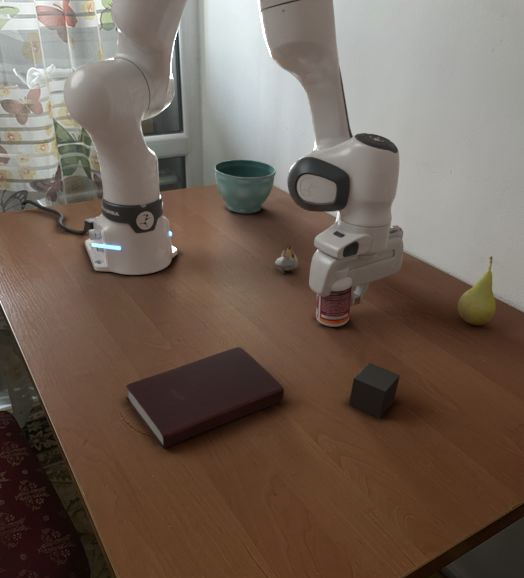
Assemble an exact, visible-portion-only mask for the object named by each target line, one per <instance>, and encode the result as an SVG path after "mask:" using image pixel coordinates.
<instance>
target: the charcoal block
mask: <svg viewBox="0 0 524 578" xmlns="http://www.w3.org/2000/svg"><path fill="white" fill-rule="evenodd" d="M400 377H401V375H400V374H398V373H395V372H393V371H390V370H388V369H386V368H383V367H381V366H379V365H376V364H374V363H371V362H368V363H367V364H366V365H365V366H364V367H363V368H362V369H361V370H360V371H359V372H358V373H357V374H356V375H355V376H354V377H353V380H352V385H351V391H350V398H349V401H348V405H349V406H351V407H353V408H354V409H357V410H359V411H362V412H364V413H366V414H368V415H371V416H373V417H375V418H377V419H381V418H382V416H383V415H384V414H385V413H386V412H387V411H388V409H389V408H390V407H391V406H392V405H393V403H394V402H395V398H396V395H397V389H398V387H399V381H400Z"/></svg>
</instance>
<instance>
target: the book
mask: <svg viewBox="0 0 524 578" xmlns="http://www.w3.org/2000/svg"><path fill="white" fill-rule="evenodd" d="M125 388H126V389H127V390H128V395H127V396H125V399H126V400H127V402H128V403H129V405H130V406H131V408H132V409H133V411H134V412H135V413H136V415H137V416H138V418H139V419H140V421H142V423H143V424H144V425H145V427H146V428H147V430H148V431H149V432H150V433H151V435H152V436H153V437H154V439H155V440H156V441H157V443H158V444H159V445H160V446H161V447H162V448H163V449H165V448H168V447H170V446H172V445H175V444H177V443H180V442H183V441H185V440H188V439H190V438H192V437H195V436H197V435H199V434H202V433H204V432H207V431H209V430H212V429H215V428H217V427H219V426H222V425H224V424H228V423H231V422H232V421H234V420H237V419H240V418H242V417H245V416H248V415H250V414H253V413H256V412H258V411H261V410H263V409H266V408H268V407H271V406H273V405H276V404H279V403H281V402H282V401H283V399H284V394H285V389H284V387H283V386H282V384H281V383H280V382H279V381H278V380H277V379H276V378H274V376H273V375H272V374H271V373H270V372H269V371H268V370H266V368H265V367H263V365H262V364H260V363H259V361H257V360H256V359H255V358H254V357H253V356H252V355H251V354H249V353H248V352H247V351H246V350H245V349H244V348H242V347H241V346H237V347H233V348H231V349H230V348H229V349H227V350H224V351H221V352H218V353H215V354H212V355H209V356H207V357H204V358H201V359H198V360H195V361H193V362H189V363H186V364H184V365H181V366H178V367H174V368H172V369H170V370H166V371H163V372H160V373H157V374H153V375H151V376H148V377H144V378H142V379H139V380H137V381H133V382H131V383H128V384H126V386H125Z"/></svg>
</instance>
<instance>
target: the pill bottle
mask: <svg viewBox="0 0 524 578" xmlns="http://www.w3.org/2000/svg"><path fill="white" fill-rule="evenodd" d="M348 273H349V266H347V267H344V268H342V269H339V270H337V271H336V278H337V281H336V282H335V283H334V284H333V285H332V287H331V293H330V295H329V296H326V297H322V296H320V295H318V294H316V301H315V302H316V303H315V305H316V306H315V318H316V321H318V322H319V323H320V324H321V325H323V326H326V327H332V328H333V327H334V328H337V327H341V326H344V325H345V324H347V323H348V322H349V320H350V316H351V307H350V304H351V291H352V279H351V278H350V277H347V275H348Z"/></svg>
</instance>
